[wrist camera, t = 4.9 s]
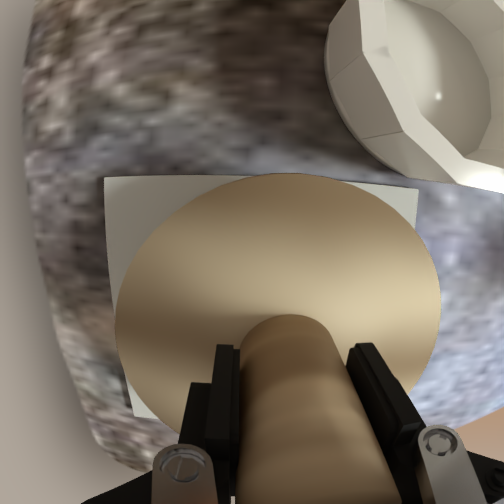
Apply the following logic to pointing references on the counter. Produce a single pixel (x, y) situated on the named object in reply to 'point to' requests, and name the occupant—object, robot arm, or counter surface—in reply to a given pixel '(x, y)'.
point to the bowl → (423, 86)
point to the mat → (170, 200)
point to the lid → (283, 326)
